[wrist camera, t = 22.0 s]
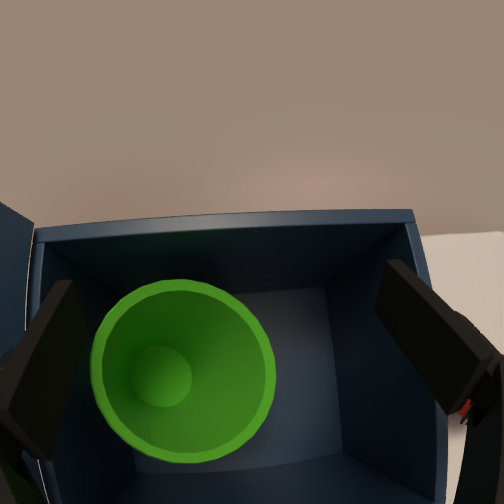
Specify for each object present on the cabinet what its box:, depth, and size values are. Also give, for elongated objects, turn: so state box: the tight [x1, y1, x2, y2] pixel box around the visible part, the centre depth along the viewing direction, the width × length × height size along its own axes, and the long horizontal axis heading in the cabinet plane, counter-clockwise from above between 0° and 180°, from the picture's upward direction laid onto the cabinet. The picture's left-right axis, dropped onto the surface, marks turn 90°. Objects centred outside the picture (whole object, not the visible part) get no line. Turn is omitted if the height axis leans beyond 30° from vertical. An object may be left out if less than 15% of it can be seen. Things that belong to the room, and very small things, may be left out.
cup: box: [90, 279, 276, 464], centre depth 18 cm, size 9×9×11 cm
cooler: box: [26, 209, 448, 504], centre depth 18 cm, size 19×17×14 cm
